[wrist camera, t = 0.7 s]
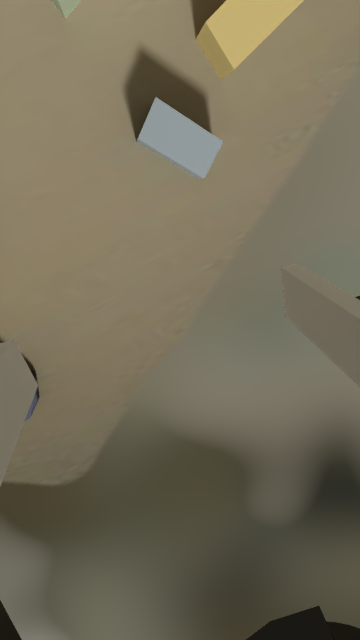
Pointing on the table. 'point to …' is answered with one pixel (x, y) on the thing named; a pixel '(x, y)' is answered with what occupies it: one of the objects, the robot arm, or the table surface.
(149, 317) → the table surface
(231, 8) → the ochre brick
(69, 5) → the sage brick
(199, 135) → the slate brick
